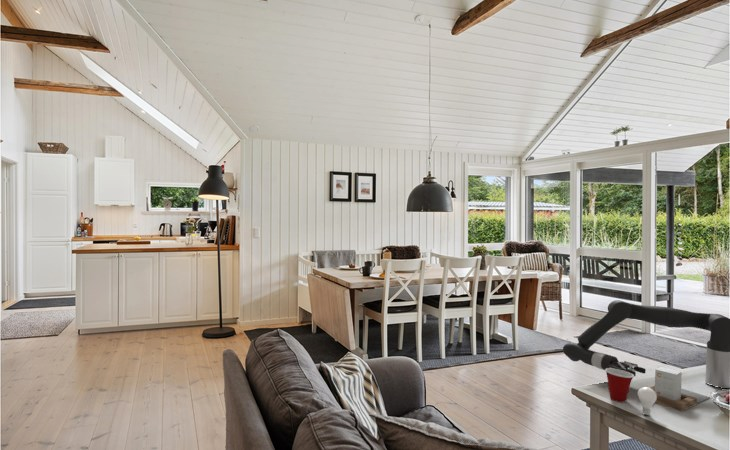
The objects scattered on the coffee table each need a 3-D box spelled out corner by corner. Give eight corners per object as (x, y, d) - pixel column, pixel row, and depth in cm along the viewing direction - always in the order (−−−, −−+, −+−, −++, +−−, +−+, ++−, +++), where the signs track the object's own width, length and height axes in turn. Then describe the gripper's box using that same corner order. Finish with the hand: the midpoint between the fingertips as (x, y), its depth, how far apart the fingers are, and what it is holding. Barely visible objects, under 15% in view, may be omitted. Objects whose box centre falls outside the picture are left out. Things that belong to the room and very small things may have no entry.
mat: (678, 388, 202) (678, 387, 202) (709, 398, 192) (710, 397, 192) (666, 393, 196) (666, 392, 196) (697, 403, 186) (697, 402, 186)
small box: (680, 402, 187) (682, 371, 187) (676, 405, 183) (677, 374, 183) (659, 395, 193) (660, 366, 193) (653, 399, 189) (655, 369, 189)
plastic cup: (639, 403, 185) (640, 374, 184) (619, 405, 181) (620, 377, 181) (617, 393, 195) (618, 366, 195) (598, 395, 192) (599, 368, 191)
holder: (655, 390, 199) (655, 385, 199) (696, 404, 185) (696, 398, 185) (639, 396, 191) (639, 391, 191) (681, 411, 178) (681, 405, 178)
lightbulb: (638, 410, 178) (639, 383, 177) (657, 415, 174) (658, 387, 173) (635, 415, 173) (636, 387, 172) (655, 420, 169) (656, 392, 168)
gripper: (596, 356, 208) (632, 366, 194) (613, 352, 215) (648, 362, 201) (595, 372, 208) (631, 383, 194) (612, 367, 215) (647, 378, 201)
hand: (640, 372), depth 198 cm, fingers open, 8 cm apart
